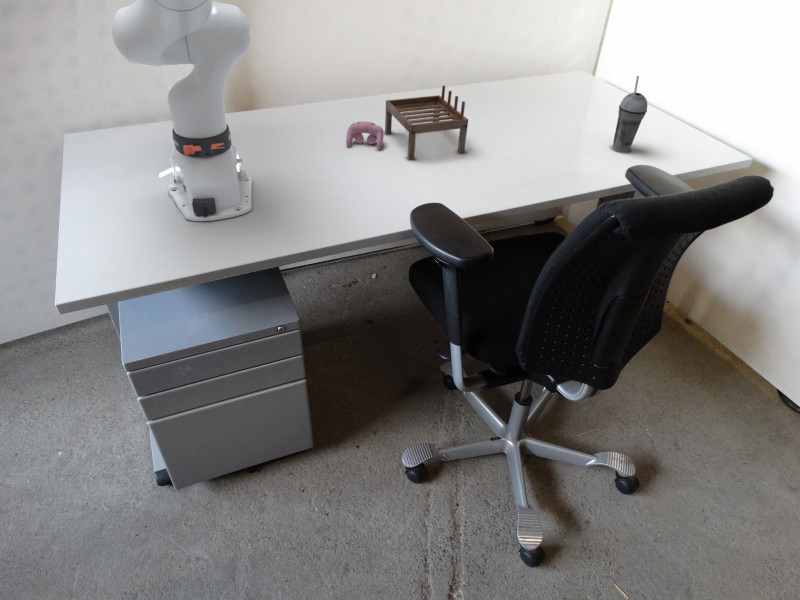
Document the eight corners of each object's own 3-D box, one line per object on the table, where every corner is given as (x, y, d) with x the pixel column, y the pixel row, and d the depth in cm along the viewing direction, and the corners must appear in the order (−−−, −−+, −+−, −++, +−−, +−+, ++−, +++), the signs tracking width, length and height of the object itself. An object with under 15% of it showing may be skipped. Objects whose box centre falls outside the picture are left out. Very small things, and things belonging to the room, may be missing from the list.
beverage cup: (635, 156, 160) (659, 82, 148) (608, 152, 161) (629, 79, 149) (632, 145, 166) (655, 73, 153) (606, 142, 167) (626, 70, 154)
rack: (464, 152, 157) (470, 105, 149) (409, 160, 152) (412, 112, 144) (436, 126, 169) (440, 82, 161) (384, 132, 164) (386, 87, 156)
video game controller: (383, 150, 159) (385, 123, 157) (381, 149, 154) (383, 122, 153) (347, 147, 159) (349, 120, 158) (344, 146, 155) (346, 119, 153)
